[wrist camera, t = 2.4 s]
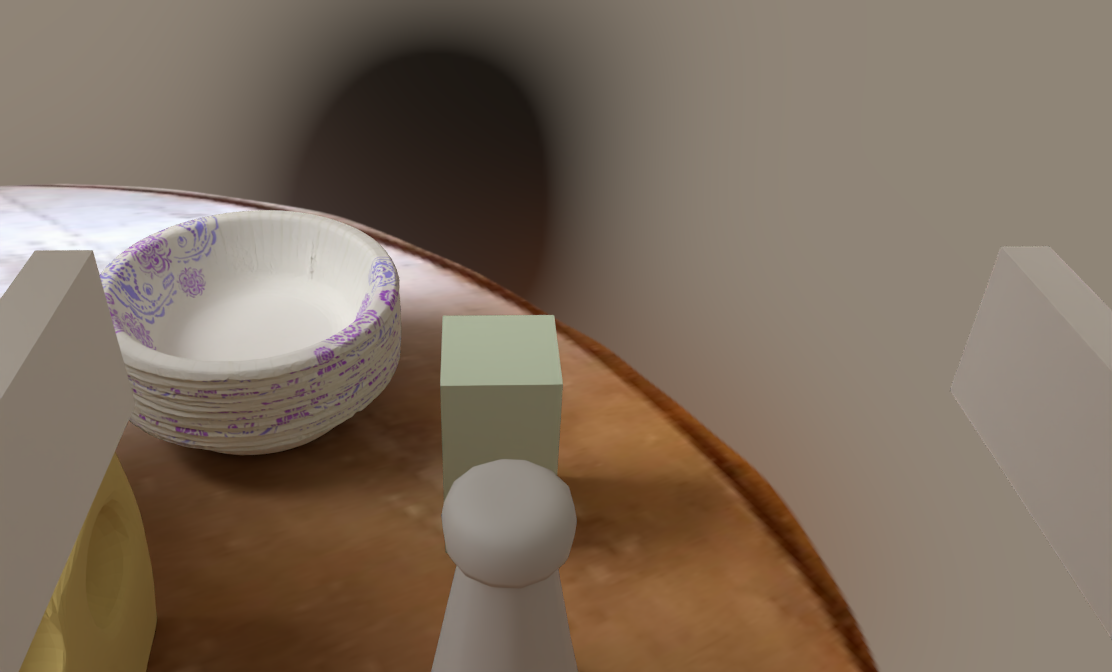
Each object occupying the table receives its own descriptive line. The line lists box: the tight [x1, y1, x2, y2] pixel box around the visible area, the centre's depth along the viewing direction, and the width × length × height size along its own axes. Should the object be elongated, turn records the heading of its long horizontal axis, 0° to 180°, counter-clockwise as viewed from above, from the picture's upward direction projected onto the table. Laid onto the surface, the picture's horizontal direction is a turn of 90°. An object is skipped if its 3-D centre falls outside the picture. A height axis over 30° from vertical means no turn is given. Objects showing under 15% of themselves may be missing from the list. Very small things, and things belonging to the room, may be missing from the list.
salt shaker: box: [431, 459, 578, 672], centre depth 34 cm, size 6×6×13 cm
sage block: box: [440, 315, 563, 553], centre depth 44 cm, size 5×5×10 cm
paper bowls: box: [100, 210, 401, 455], centre depth 51 cm, size 15×15×8 cm
